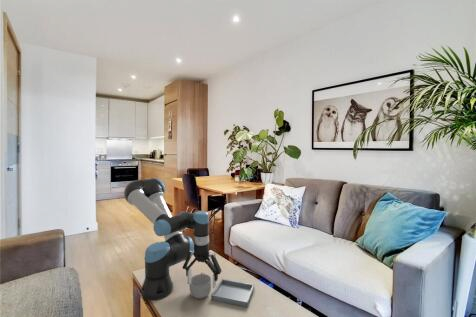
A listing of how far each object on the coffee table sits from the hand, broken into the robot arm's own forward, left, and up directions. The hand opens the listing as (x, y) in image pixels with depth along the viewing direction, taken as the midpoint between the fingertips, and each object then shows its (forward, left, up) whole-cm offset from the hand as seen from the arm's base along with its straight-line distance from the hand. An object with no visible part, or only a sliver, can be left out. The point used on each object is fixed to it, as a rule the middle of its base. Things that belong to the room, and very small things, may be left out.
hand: (201, 284), depth 121 cm
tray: (+16, +4, -4) cm, 17 cm away
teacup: (0, 0, -5) cm, 5 cm away
